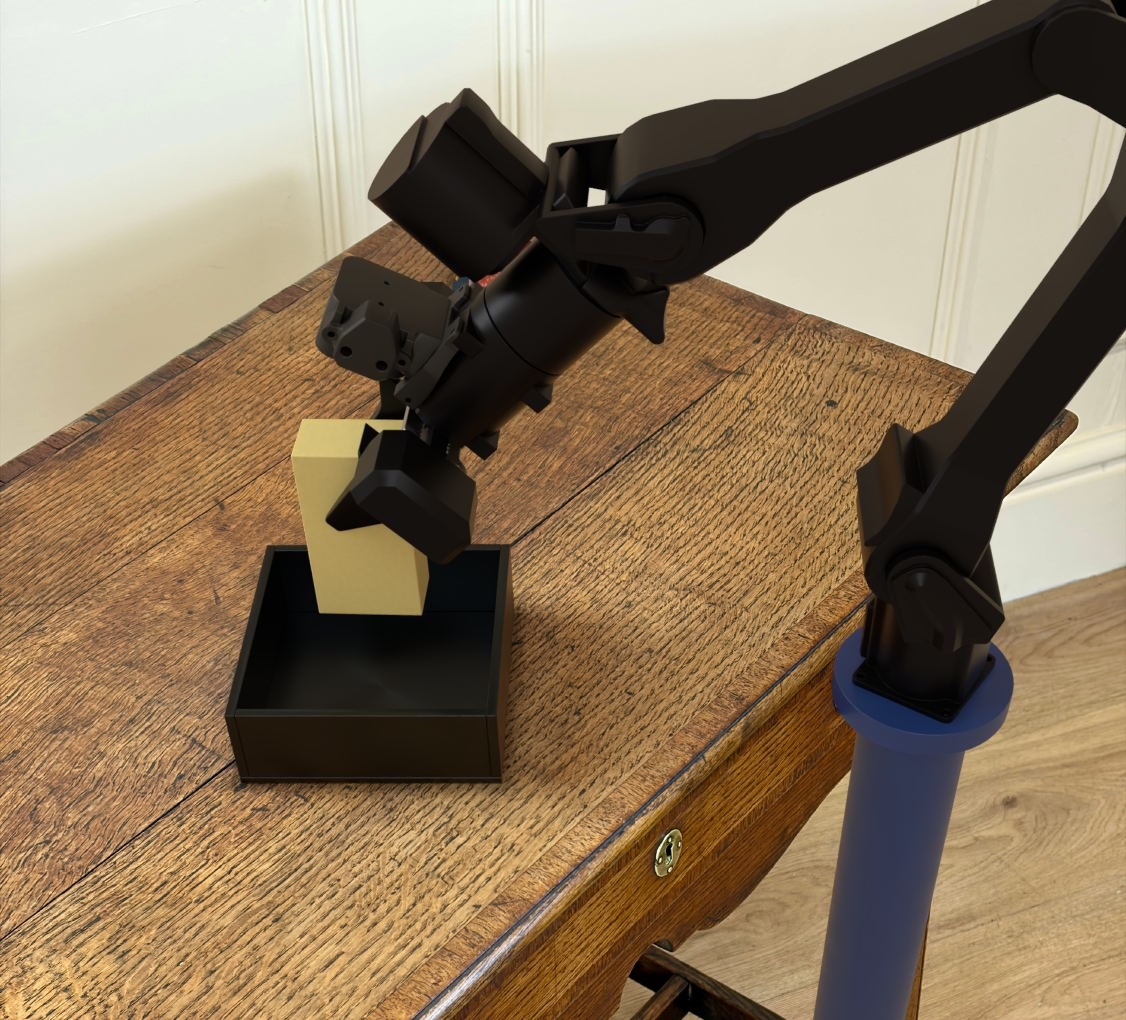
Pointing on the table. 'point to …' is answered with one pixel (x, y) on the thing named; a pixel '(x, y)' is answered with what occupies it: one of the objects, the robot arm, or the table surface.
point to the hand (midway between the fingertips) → (337, 503)
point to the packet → (359, 556)
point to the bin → (375, 679)
